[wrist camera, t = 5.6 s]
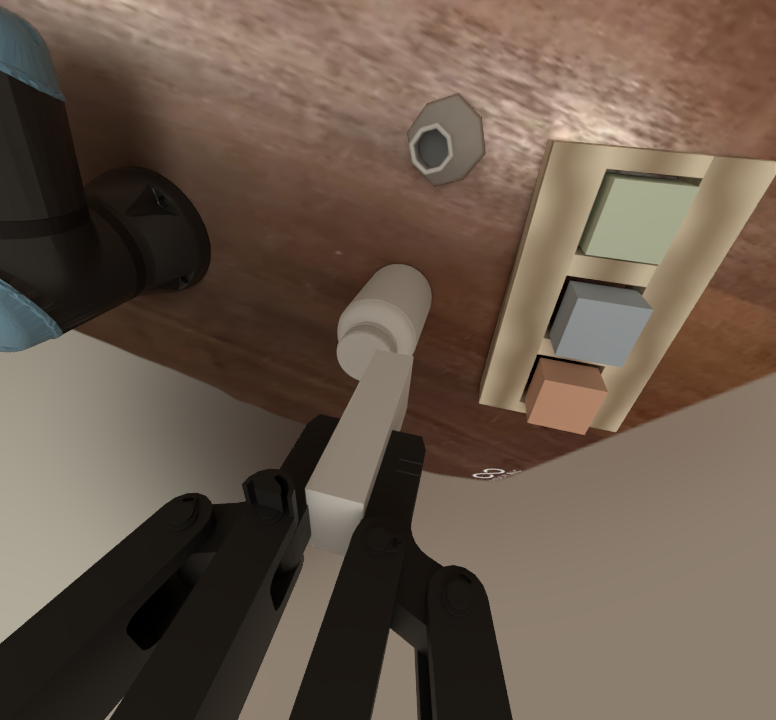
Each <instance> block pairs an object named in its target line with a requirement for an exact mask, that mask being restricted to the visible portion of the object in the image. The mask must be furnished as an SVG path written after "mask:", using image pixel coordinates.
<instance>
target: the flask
mask: <svg viewBox="0 0 776 720" xmlns="http://www.w3.org/2000/svg"><path fill="white" fill-rule="evenodd" d="M407 135H408V140H409V148H410V154H411V159H412V163H413V166H414V167H415V168H416V169H417V170H418V171H419V172H420V173H421V174H422V175H423V176H424V177H425V178H426V179H427V180H428V181H429V182H430V183H431V184H432V185H433V186H434V187H435V186H439V185H443V184H447V183H451V182H455V181H459V180H463V179H464V178H465V177H466V176H467V174H468V173H469V172H470V171H471V170H472V169H473V167H474V166H475V165H476V164H477V163H478V162H479V160H480V159H481V158H482V157H483V156H484V155H485V145H484V134H483V124H482V117H481V116H480V115H479V114H478V113H477V112H476V111H475V110H474V109H473V108H472V107H471V106H470V104H469V103H468V102H467V101H466V100H465V99H464V98H463V97H462V96H461V95H460V94H459V93H458V94H455V95H452V96H449V97H445V98H442V99H439V100H436V101H433V102H430V103H427V104H426V106H425V107H424V109H423V110H422V112H421V113H420V115H419V116H418V117H417V119H416V120H415V122H414V123H413V125H412V126H411V128H410V129H409V131H408V132H407Z"/></svg>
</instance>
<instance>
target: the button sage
mask: <svg viewBox="0 0 776 720" xmlns="http://www.w3.org/2000/svg"><path fill="white" fill-rule="evenodd" d="M699 189H700V187H698V186H695V185H692V184H688V183H685V182H682V181H679V180H673V179H663V178H653V177H644V176H634V175H624V174H614V173H605V174H604V177H603V179H602V182H601V185H600V187H599V190H598V193H597V195H596V198H595V201H594V203H593V206H592V209H591V211H590V214H589V217H588V219H587V222H586V225H585V228H584V230H583V233H582V236H581V238H580V241H579V244H578V245H579V246H580V247H581V249H582V250H583V252H584V253H585V255H593V256H600V257H607V258H614V259H622V260H629V261H636V262H643V263H651V264H658V265H660V264H661V262H662V260H663V258H664V256H665V254H666V252H667V250H668V249H669V247H670V245H671V243H672V241H673V239H674V237H675V235H676V233H677V231H678V229H679V227H680V226H681V224H682V222H683V220H684V218H685V216H686V214H687V212H688V210H689V208H690V206H691V204H692V203H693V201H694V199H695V197H696V195H697V193H698V191H699Z"/></svg>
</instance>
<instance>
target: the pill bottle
mask: <svg viewBox="0 0 776 720" xmlns="http://www.w3.org/2000/svg"><path fill="white" fill-rule="evenodd" d="M431 301H432V293H431V288H430V285H429V283H428V281H427V280H426V278H425V277H424V276H423V275H422V274H421V273H420V272H419V271H418V270H416V269H415V268H413V267H411V266H408V265H404V264H392V265H388V266H385V267H383V268H382V269H380V270H379V271H377V272H376V273H375V274H374V275H373V276H372V278H371V279H370V280H369V281H368V282H367V284H366V285H365V286H364V287H363V288H362V290H361V291H360V292H359V293H358V295H357V296H356V297H355V298H354V299H353V301H352V302H351V303H350V304H349V305H348V307H347V308H346V309H345V310H344V312H343V313H342V315H341V317H340V319H339V323H338V330H337V334H338V341H339V343H338V346H337V358H338V361H339V363H340V365H341V367H342V368H343V370H344V371H345V372H346V373H347V374H348V375H350V376H351V377H353V378H355V379H357V380H359V381H360V380H361V378H362V376H363V374H364V372H365V370H366V368H367V367H368V365H369V363H370V361H371V359H372V357H373V355H374V353H375V351H376V349H377V350H382V351H387V352H393V353H398V354H403V355H408V356H412V355H413V353H414V350H415V348H416V345H417V343H418V340H419V337H420V334H421V332H422V329H423V326H424V323H425V321H426V318H427V315H428V313H429V310H430V307H431Z"/></svg>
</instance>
